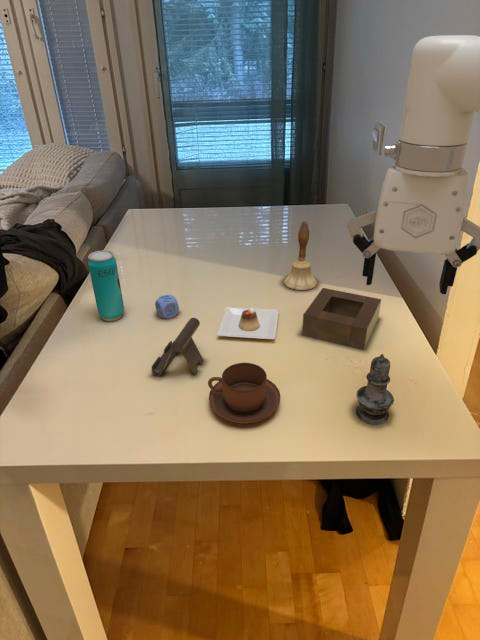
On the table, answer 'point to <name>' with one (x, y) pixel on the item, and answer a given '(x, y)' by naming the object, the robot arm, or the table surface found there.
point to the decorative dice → (167, 306)
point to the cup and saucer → (243, 394)
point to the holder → (341, 318)
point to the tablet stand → (181, 349)
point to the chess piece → (375, 393)
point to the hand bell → (301, 265)
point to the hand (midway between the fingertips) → (405, 285)
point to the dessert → (249, 323)
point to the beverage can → (106, 285)
